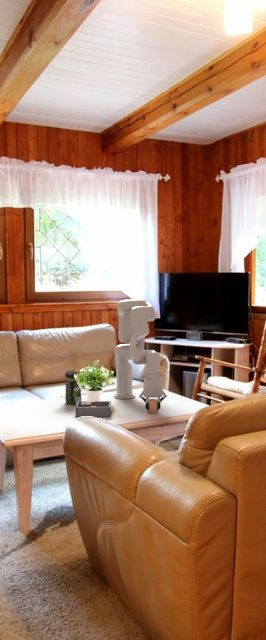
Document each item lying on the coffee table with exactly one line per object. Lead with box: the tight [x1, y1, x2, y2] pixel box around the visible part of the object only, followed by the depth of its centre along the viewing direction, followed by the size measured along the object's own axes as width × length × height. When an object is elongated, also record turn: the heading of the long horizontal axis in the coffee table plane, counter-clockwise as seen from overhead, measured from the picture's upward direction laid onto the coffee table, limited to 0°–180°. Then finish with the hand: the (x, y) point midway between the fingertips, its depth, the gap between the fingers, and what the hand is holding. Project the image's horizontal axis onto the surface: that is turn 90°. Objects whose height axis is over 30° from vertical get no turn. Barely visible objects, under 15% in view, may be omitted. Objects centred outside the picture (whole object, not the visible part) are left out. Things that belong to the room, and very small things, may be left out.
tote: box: [75, 400, 112, 418], centre depth 278 cm, size 14×18×5 cm
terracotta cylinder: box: [147, 398, 159, 415], centre depth 280 cm, size 5×5×7 cm
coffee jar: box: [64, 369, 82, 406], centre depth 302 cm, size 10×8×19 cm
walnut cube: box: [81, 402, 91, 407], centre depth 278 cm, size 5×5×5 cm
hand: (153, 409), depth 280 cm, fingers closed on terracotta cylinder, 5 cm apart
